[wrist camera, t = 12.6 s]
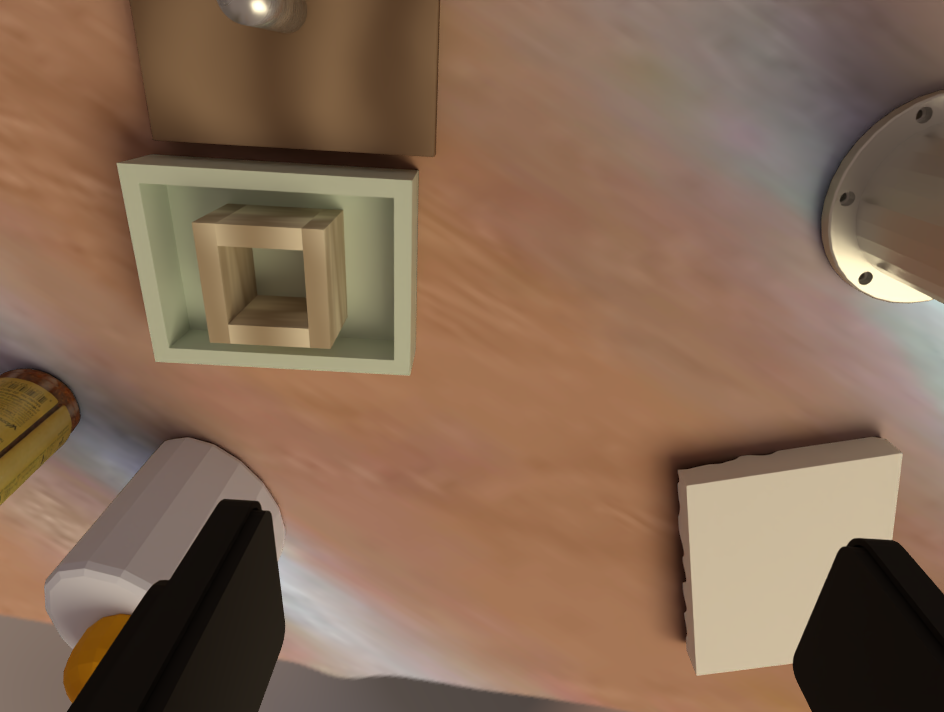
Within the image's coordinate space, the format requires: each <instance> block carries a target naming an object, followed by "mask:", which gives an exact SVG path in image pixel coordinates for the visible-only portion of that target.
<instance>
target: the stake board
mask: <svg viewBox="0 0 944 712" xmlns="http://www.w3.org/2000/svg"><path fill="white" fill-rule="evenodd" d="M306 4H307V17H306V20H305V22H304V24H303V25H302V27H301V28H300V29H299V30H297V31H295V32H293V33H281V32H276V31H271V30H266V29H261V28H256V27H251V26H246V25H241V24H238V23H236V22H234V21H232V20H231V19H229V18H228V17H227V16H226V15H225V14H224V13H223V11H222V10H221V8H220V7H219V5H218V3H217V0H130V6H131V12H132V18H133V24H134V30H135V36H136V42H137V48H138V54H139V60H140V66H141V72H142V78H143V84H144V90H145V96H146V102H147V107H148V113H149V119H150V125H151V131H152V137H153V140H158V141H175V142H191V143H208V144H225V145H241V146H258V147H275V148H291V149H308V150H325V151H341V152H358V153H375V154H391V155H408V156H425V157H434V156H435V154H436V126H437V90H438V55H439V19H440V0H306Z"/></svg>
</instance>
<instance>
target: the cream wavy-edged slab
mask: <svg viewBox="0 0 944 712" xmlns="http://www.w3.org/2000/svg"><path fill="white" fill-rule="evenodd" d="M902 455H903V453H902V452H901V451H900V450H898V449H897V448H896V447H895V446H894V445H892V444H891V443H890V442H889V441H888V440H886V439H882V438H877V437H868V438H861V439H854V440H847V441H841V442H834V443H827V444H820V445H813V446H807V447H800V448H793V449H786V450H779V451H776V452H775V453H773V454H769V455H761V456H760V455H745V456H739V457H738V458H737V459H735V460H732V461H727V462H725V463H721V464H709V465H704V466H699V467H695V468H691V469H684V470H678V475H679V482H678V497H679V503H680V512H679V516H678V525H679V533H680V538H681V541H682V545H683V549H684V556H683V565H684V570H685V574H686V581H685V582H683V594H684V598H685V602H686V607H687V610H686V612H685V613H684V617H685V622H686V628H687V636H686V648H687V652H688V655H689V657H690V660H691V663H692V665H693V668H694V670H695V673H696V676H698V675H706V674H714V673H722V672H730V671H737V670H745V669H753V668H761V667H769V666H777V665H784V664H792V663H793V657H794V653H795V651H796V649H797V646H798V644H799V642H800V639H801V637H802V635H803V632H804V630H805V628H806V625H807V623H808V620H809V618H810V616H811V613H812V611H813V609H814V606H815V604H816V602H817V599H818V597H819V595H820V592H821V590H822V587H823V585H824V583H825V580H826V578H827V576H828V573H829V571H830V569H831V566H832V564H833V562H834V559H835V557H836V555H837V552H838V551H839V549H840V548H841V547H843V546H847V544H848V543H849V541H851V540H852V539H854V538H868V539H884V540H892V536H893V528H894V520H895V512H896V504H897V496H898V487H899V479H900V471H901V463H902Z"/></svg>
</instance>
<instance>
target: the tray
mask: <svg viewBox="0 0 944 712" xmlns="http://www.w3.org/2000/svg"><path fill="white" fill-rule="evenodd" d="M117 168H118V173H119V178H120V183H121V188H122V193H123V198H124V203H125V209H126V214H127V219H128V224H129V229H130V234H131V239H132V244H133V249H134V254H135V260H136V265H137V270H138V275H139V280H140V285H141V290H142V295H143V300H144V305H145V311H146V316H147V321H148V326H149V331H150V336H151V341H152V346H153V351H154V356H155V362H170V363H188V364H207V365H226V366H244V367H263V368H281V369H300V370H318V371H337V372H356V373H374V374H393V375H410V373H411V369H412V364H413V360H414V355H415V351H416V301H417V240H418V179H419V170H407V169H391V168H374V167H357V166H340V165H323V164H307V163H290V162H273V161H256V160H240V159H223V158H206V157H189V156H172V155H156V154H151V155H147V156H143V157H139V158H135V159H131V160H127V161H123V162H119V163H117ZM226 204H245V205H263V206H281V207H299V208H317V209H335V210H343V216H344V240H345V265H346V290H347V315H348V317H347V319H346V321H345V323H344V325H343V326H342V328H341V330H340V332H339V334H338V336H337V338H336V340H335V341H334V343H333V345H332V347H331V349H323V348H304V347H285V346H266V345H246V344H227V343H210V340H209V334H208V327H207V320H206V314H205V307H204V301H203V294H202V288H201V281H200V274H199V268H198V261H197V255H196V248H195V242H194V235H193V228H192V222H193V221H195V220H197V219H199V218H201V217H203V216H205V215H207V214H209V213H211V212H212V211H214V210H216V209H218V208H220V207H222V206H224V205H226ZM252 251H253V260H254V269H255V278H256V287H257V295H267V296H286V297H305V298H306V286H305V272H304V258H303V251H302V250H284V249H265V248H252Z"/></svg>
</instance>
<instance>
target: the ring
mask: <svg viewBox="0 0 944 712" xmlns="http://www.w3.org/2000/svg"><path fill="white" fill-rule="evenodd" d="M192 228H193V235H194V242H195V248H196V255H197V261H198V268H199V274H200V281H201V288H202V294H203V301H204V307H205V314H206V320H207V327H208V334H209V340H210V343H227V344H246V345H266V346H285V347H304V348H323V349H331V347H332V345H333V343H334V341H335V340H336V338H337V336H338V334H339V332H340V330H341V328H342V326H343V325H344V323H345V321H346V319H347V317H348V315H347V290H346V265H345V240H344V216H343V210H335V209H317V208H299V207H281V206H263V205H245V204H226V205H224V206H222V207H220V208H218V209H216V210H214V211H212V212H211V213H209V214H207V215H205V216H203V217H201V218H199V219H197V220H195V221H193V222H192ZM252 248H265V249H284V250H302V251H303V258H304V272H305V286H306V298H305V297H286V296H267V295H257V287H256V278H255V269H254V260H253V251H252Z"/></svg>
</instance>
